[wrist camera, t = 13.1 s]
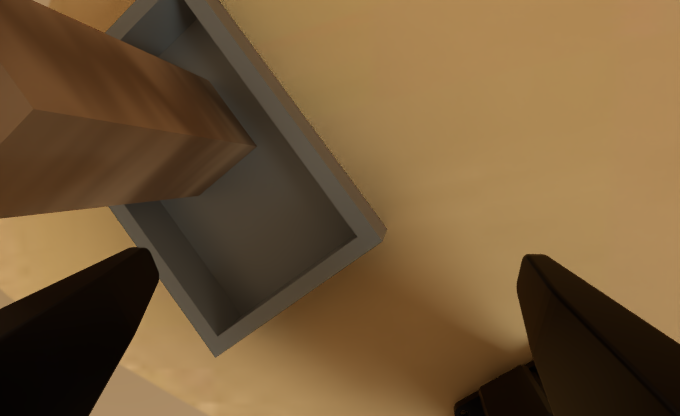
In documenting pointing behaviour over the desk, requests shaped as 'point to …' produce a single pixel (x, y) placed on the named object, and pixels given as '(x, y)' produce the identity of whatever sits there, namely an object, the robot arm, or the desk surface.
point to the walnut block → (101, 119)
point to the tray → (244, 187)
